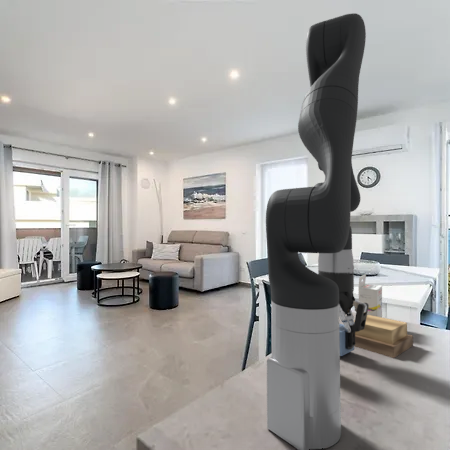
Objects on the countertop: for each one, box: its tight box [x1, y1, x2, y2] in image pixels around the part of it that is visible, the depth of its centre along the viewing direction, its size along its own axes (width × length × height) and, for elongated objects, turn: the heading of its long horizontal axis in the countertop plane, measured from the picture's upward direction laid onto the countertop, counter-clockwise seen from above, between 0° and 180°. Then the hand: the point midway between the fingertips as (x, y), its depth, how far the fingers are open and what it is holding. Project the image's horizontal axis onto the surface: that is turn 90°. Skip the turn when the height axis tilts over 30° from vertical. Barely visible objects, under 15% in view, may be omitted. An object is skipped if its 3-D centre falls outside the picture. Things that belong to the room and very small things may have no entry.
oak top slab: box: [354, 315, 408, 344], centre depth 71 cm, size 9×9×3 cm
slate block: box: [339, 323, 355, 357], centre depth 66 cm, size 6×6×5 cm
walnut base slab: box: [354, 333, 414, 359], centre depth 71 cm, size 11×11×3 cm
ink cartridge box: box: [357, 273, 383, 318], centre depth 83 cm, size 9×5×15 cm, turn 144°
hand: (336, 344), depth 66 cm, fingers closed on slate block, 5 cm apart
